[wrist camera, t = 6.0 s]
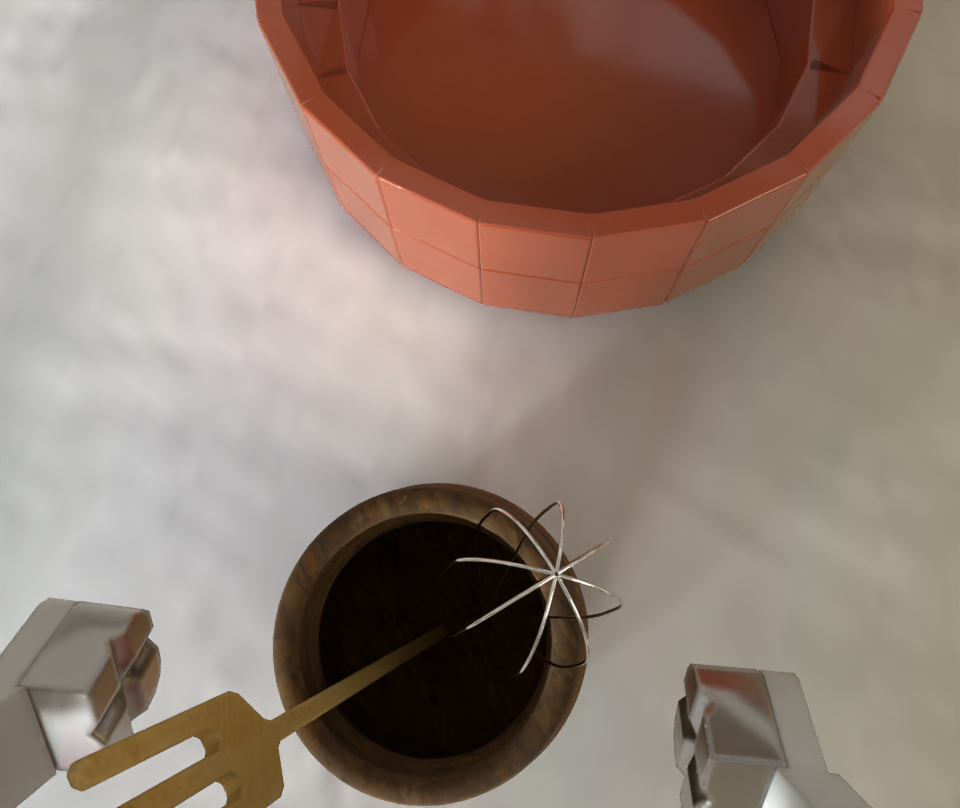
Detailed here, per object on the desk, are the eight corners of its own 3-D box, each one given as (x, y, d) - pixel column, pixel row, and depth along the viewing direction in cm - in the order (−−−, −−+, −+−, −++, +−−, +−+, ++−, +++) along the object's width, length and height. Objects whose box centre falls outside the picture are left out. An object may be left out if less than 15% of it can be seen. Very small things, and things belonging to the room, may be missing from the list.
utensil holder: (620, 669, 20) (792, 769, 8) (392, 813, 19) (224, 1147, 8) (494, 461, 21) (486, 288, 9) (276, 590, 20) (-24, 578, 9)
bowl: (202, 82, 24) (115, -67, 18) (559, -214, 26) (574, -425, 21) (572, 438, 21) (596, 384, 16) (936, 75, 23) (1066, -82, 18)
